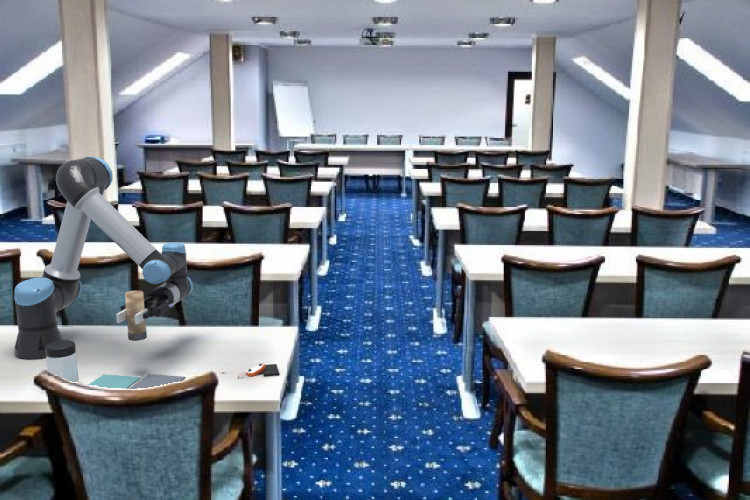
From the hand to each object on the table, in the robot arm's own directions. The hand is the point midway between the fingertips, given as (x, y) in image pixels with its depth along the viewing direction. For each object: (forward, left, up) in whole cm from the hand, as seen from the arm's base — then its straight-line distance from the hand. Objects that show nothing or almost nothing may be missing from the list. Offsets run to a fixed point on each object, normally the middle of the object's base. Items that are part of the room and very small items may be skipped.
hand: (126, 319), depth 223 cm
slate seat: (+10, -3, -18) cm, 21 cm away
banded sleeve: (0, +5, -7) cm, 9 cm away
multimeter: (+34, +9, -19) cm, 40 cm away
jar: (-17, -8, -19) cm, 26 cm away
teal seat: (-3, -6, -18) cm, 19 cm away
